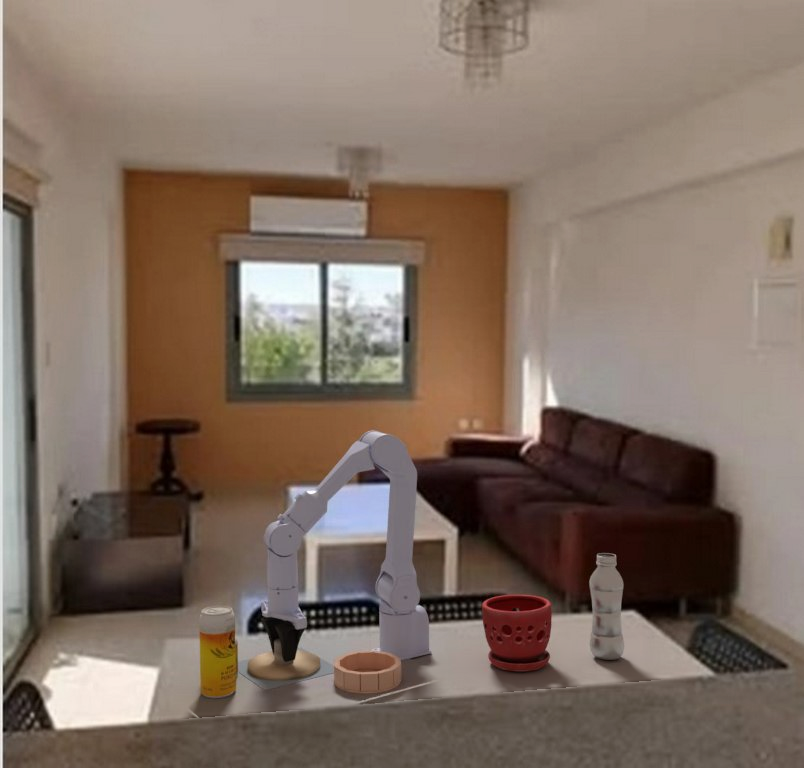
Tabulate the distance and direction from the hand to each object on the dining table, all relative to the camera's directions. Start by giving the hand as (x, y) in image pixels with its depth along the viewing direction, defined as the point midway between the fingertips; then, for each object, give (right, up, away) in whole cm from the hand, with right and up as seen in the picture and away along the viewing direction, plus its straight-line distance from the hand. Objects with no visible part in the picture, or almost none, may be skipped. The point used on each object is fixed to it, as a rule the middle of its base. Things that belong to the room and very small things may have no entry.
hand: (284, 657), depth 171 cm
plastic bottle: (+62, -2, +4) cm, 62 cm away
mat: (0, -2, 0) cm, 2 cm away
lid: (0, -2, 0) cm, 2 cm away
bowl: (+16, -3, -7) cm, 18 cm away
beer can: (-10, -3, -12) cm, 16 cm away
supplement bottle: (-11, -3, -4) cm, 12 cm away
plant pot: (+44, -2, +2) cm, 44 cm away
